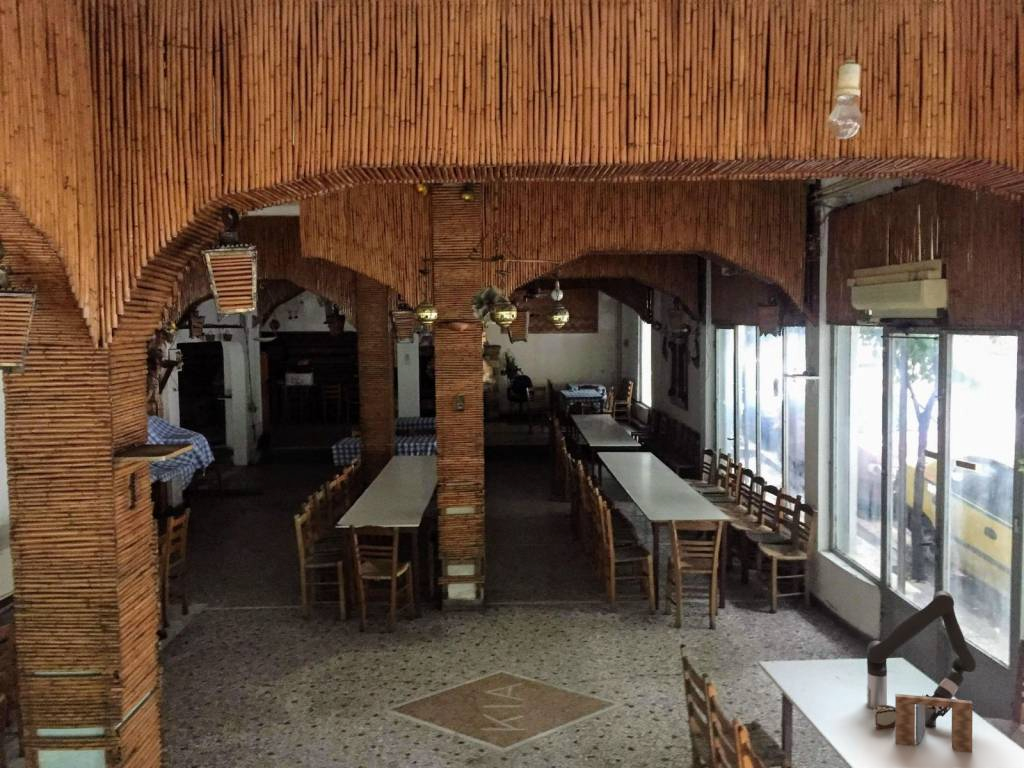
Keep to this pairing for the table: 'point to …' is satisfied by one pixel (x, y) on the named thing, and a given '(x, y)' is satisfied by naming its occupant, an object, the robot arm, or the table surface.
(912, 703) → the door frame
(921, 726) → the cabinet door
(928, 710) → the pepper mill
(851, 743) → the table surface
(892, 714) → the food container
